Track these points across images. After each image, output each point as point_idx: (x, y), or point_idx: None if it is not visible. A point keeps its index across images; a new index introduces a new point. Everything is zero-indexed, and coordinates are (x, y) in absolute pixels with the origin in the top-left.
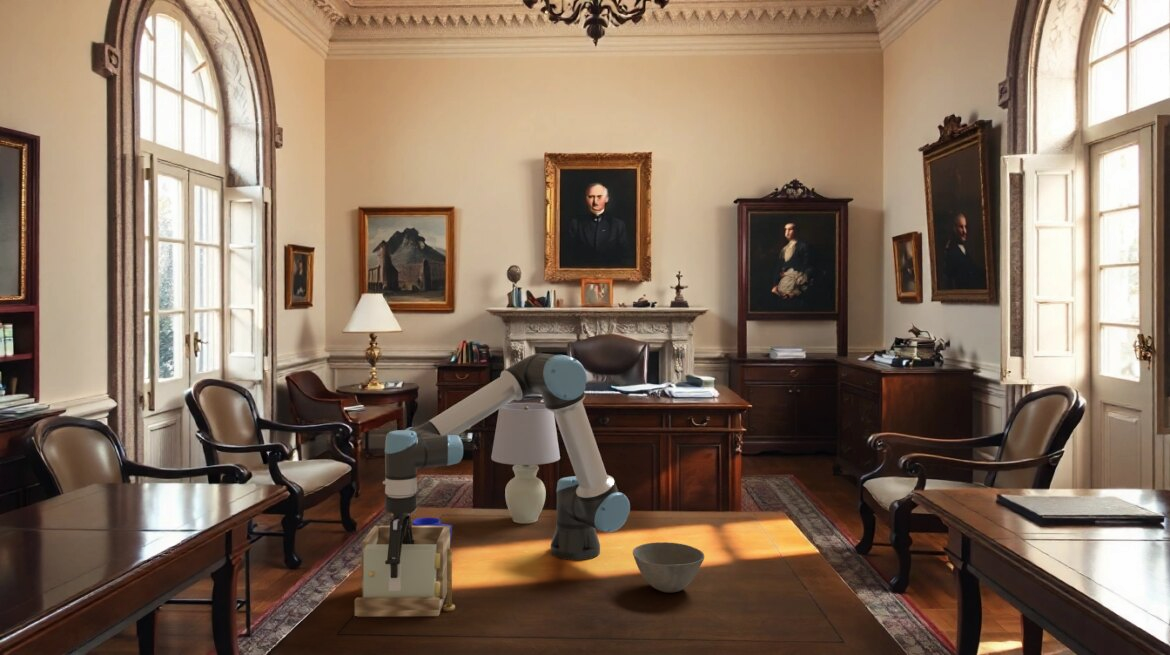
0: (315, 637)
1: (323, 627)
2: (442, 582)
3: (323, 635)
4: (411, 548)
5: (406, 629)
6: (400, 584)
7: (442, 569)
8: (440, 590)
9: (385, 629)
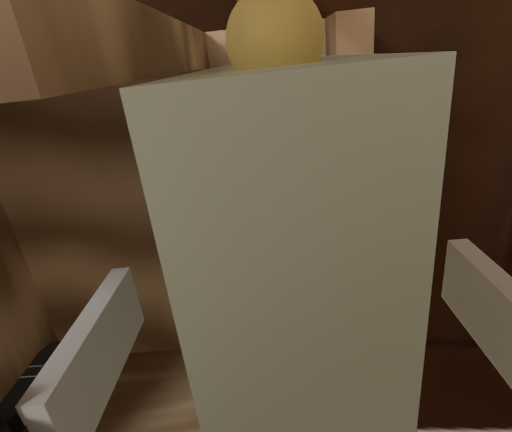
0: (507, 386)
1: (433, 389)
2: (187, 26)
3: (495, 373)
4: (379, 400)
5: (490, 131)
6: (476, 256)
7: (166, 18)
8: (199, 43)
9: (477, 212)
